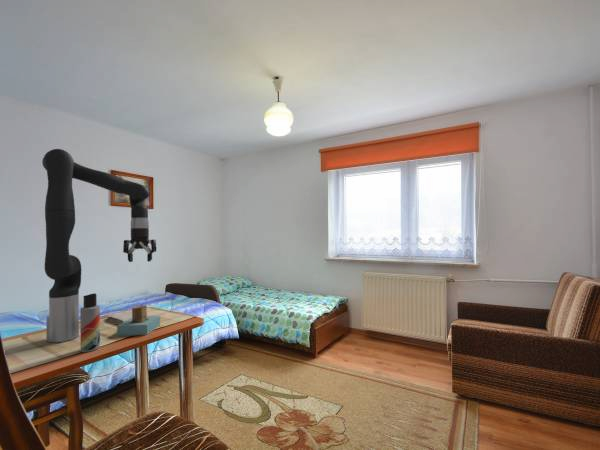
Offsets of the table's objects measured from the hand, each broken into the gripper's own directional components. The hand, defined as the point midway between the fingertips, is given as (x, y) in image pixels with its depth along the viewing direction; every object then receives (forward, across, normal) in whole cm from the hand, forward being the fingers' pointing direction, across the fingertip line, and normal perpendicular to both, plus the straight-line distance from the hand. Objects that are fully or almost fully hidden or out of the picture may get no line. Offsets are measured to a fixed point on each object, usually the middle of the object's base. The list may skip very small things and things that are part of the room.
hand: (140, 261), depth 137 cm
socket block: (+28, +6, -13) cm, 32 cm away
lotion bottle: (+28, -2, -32) cm, 43 cm away
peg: (+28, +6, -13) cm, 32 cm away
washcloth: (+29, -9, +4) cm, 30 cm away
